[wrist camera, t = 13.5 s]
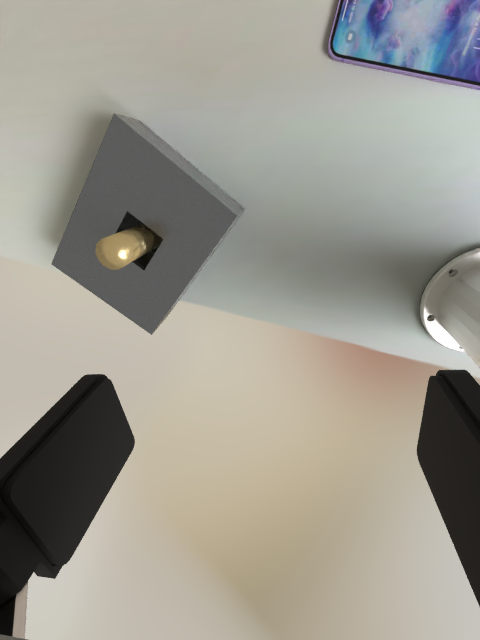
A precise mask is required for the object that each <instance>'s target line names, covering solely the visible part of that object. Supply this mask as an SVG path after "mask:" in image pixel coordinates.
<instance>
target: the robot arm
mask: <svg viewBox="0 0 480 640" xmlns="http://www.w3.org/2000/svg"><path fill="white" fill-rule="evenodd" d="M450 270H451V271H450ZM449 271H450V272H449ZM420 316H421V320H422V323H423V325H424V327H425V329H426V331H427V332H428V333H429V334H430V335H431V337H432V338H433V339H435V340H436V341H437V342H438V343H440V344H441V345H443V346H445V347H447V348H450V349H453V350H456V351H463V352H466V353H467V354H468V355H469V357H470V358H471V359H472V360H473V361H474V362H475V363H476V364H477V365H478V366H479V368H480V248H476V249H474V250H471V251H468V252H466V253H463V254H462V255H460V256H458V257H456V258H455V259H453V260H451V261H450V262H449V263H447V264H446V265H445V266H443V267H442V268H441V269H440V270H439V271H438V272H437V273H436V274H435V275H434V276H433V278H432V279H431V280H430V282H429V283H428V285H427V286H426V289H425V291H424V293H423V295H422V299H421V303H420ZM134 443H135V440H134V436H133V434H132V431H131V429H130V426H129V424H128V421H127V419H126V416H125V414H124V411H123V409H122V406H121V404H120V401H119V399H118V396H117V394H116V391H115V389H114V386H113V384H112V382H111V380H110V379H108V378H107V377H106V376H105V375H102V374H92V375H85V376H83V377H82V378H81V379H80V380H79V381H78V382H77V383H76V384H75V385H74V386H73V387H72V388H71V389H70V390H69V391H68V392H67V393H66V394H65V395H64V396H63V397H62V398H61V399H60V400H59V401H58V402H57V403H56V404H55V405H54V406H53V407H52V408H51V409H50V410H49V411H48V412H47V413H46V414H45V415H44V416H43V417H42V418H41V419H40V420H39V421H38V422H37V423H36V424H35V425H34V426H33V427H32V428H31V429H30V430H29V431H28V432H27V433H26V434H25V435H24V436H23V437H22V438H21V439H20V440H19V441H18V442H16V443H15V445H14V446H12V447H11V448H10V449H9V451H7V453H6V454H5V455H3V456H2V458H1V459H0V640H26V639H25V624H26V608H27V591H28V580H29V578H30V577H31V575H32V573H33V572H35V574H36V575H37V576H41V577H48V578H54V579H55V578H56V576H57V574H58V573H59V571H60V569H61V568H62V566H63V565H64V564H66V563H67V562H68V561H69V560H70V558H71V557H72V555H73V554H74V552H75V550H76V548H77V547H78V545H79V543H80V541H81V540H82V538H83V536H84V534H85V533H86V531H87V529H88V527H89V526H90V524H91V522H92V520H93V519H94V517H95V515H96V513H97V512H98V510H99V508H100V506H101V504H102V503H103V501H104V499H105V497H106V496H107V494H108V492H109V490H110V489H111V487H112V485H113V483H114V482H115V480H116V478H117V476H118V474H119V473H120V471H121V469H122V468H123V466H124V464H125V462H126V461H127V459H128V457H129V455H130V454H131V452H132V450H133V448H134ZM417 456H418V460H419V463H420V465H421V468H422V470H423V472H424V475H425V477H426V480H427V482H428V484H429V487H430V489H431V492H432V494H433V496H434V498H435V501H436V503H437V506H438V508H439V510H440V513H441V515H442V518H443V520H444V523H445V524H446V527H447V530H448V532H449V534H450V537H451V539H452V542H453V544H454V546H455V549H456V551H457V554H458V556H459V558H460V561H461V563H462V566H463V568H464V570H465V573H466V575H467V578H468V580H469V582H470V585H471V587H472V589H473V592H474V594H475V596H476V599H477V601H478V603H479V606H480V385H479V384H478V383H477V382H476V381H475V379H474V378H473V377H472V376H471V375H470V373H469V372H467V371H466V370H439V371H438V372H437V374H436V376H430V378H429V381H428V387H427V393H426V399H425V405H424V410H423V417H422V422H421V428H420V433H419V440H418V445H417Z"/></svg>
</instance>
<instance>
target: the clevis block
mask: <svg viewBox="0 0 480 640" xmlns="http://www.w3.org/2000/svg"><path fill="white" fill-rule="evenodd" d="M244 210H245V209H244V208H243V207H242V206H241V205H240V204H238V203H237V202H236V201H235V200H234V199H232V198H231V197H230V196H229V195H228V194H226V193H225V192H224V191H223V190H222V189H220V188H219V187H218V186H217V185H216V184H214V183H213V182H212V181H211V180H210V179H208V178H207V177H206V176H205V175H204V174H202V173H201V172H200V171H199V170H198V169H197V168H195V167H194V166H193V165H192V164H191V163H189V162H188V161H187V160H186V159H185V158H183V157H182V156H181V155H180V154H179V153H177V152H176V151H175V150H174V149H173V148H171V147H170V146H169V145H168V144H167V143H165V142H164V141H163V140H162V139H161V138H159V137H158V136H157V135H156V134H155V133H154V132H152V131H151V130H150V129H149V128H148V127H146V126H145V125H144V124H143V123H142V122H140V121H138V120H135V119H131V118H128V117H124V116H121V115H117V114H114V115H113V118H112V120H111V123H110V125H109V127H108V130H107V132H106V135H105V137H104V139H103V142H102V144H101V147H100V149H99V151H98V154H97V156H96V159H95V161H94V163H93V166H92V168H91V171H90V173H89V175H88V178H87V180H86V183H85V185H84V187H83V190H82V192H81V195H80V197H79V199H78V202H77V204H76V207H75V209H74V211H73V214H72V216H71V218H70V221H69V223H68V226H67V228H66V230H65V233H64V235H63V238H62V240H61V242H60V245H59V247H58V250H57V252H56V254H55V257H54V259H53V262H52V265H53V266H55V267H56V268H58V269H59V270H61V271H62V272H63V273H65V274H66V275H68V276H69V277H70V278H72V279H73V280H75V281H76V282H78V283H79V284H81V285H82V286H83V287H85V288H86V289H88V290H89V291H91V292H92V293H93V294H95V295H96V296H98V297H99V298H101V299H102V300H103V301H105V302H106V303H107V304H109V305H110V306H112V307H113V308H115V309H116V310H117V311H119V312H120V313H122V314H123V315H124V316H126V317H127V318H129V319H130V320H132V321H133V322H134V323H136V324H137V325H139V326H140V327H142V328H143V329H144V330H146V331H147V332H149V333H150V334H153V332H154V331H155V330H156V329H157V328H158V326H159V325H160V324H161V323H162V322H163V321H164V320H165V318H166V317H167V316H168V314H169V313H170V312H171V310H172V309H173V307H174V306H175V305H176V303H177V302H178V301H179V299H180V298H181V297H182V295H183V294H184V292H185V291H186V290H187V288H188V287H189V286H190V284H191V283H192V281H193V280H194V279H195V277H196V276H197V275H198V273H199V272H200V270H201V269H202V268H203V266H204V265H205V264H206V262H207V261H208V259H209V258H210V257H211V255H212V254H213V253H214V251H215V250H216V248H217V247H218V246H219V244H220V243H221V242H222V240H223V239H224V237H225V236H226V235H227V233H228V232H229V231H230V229H231V228H232V226H233V225H234V224H235V222H236V221H237V220H238V218H239V217H240V215H241V214H242V213H243V211H244ZM139 221H141V222H142V223H143V224H145V225H146V226H147V227H149V228H150V229H151V230H153V231H154V232H155V233H156V234H158V235H159V236H160V237H162V238H163V241H162V242H161V244H160V246H159V247H158V249H157V251H156V252H155V253H154V252H152V251H149V252H148V253H146V254H144V255H143V256H141V257H139V258H137V259H136V260H134V261H132V262H131V263H129V264H127V265H126V266H124V267H122V268H120V269H118V270H111V269H108V268H106V267H105V266H103V265H102V264H101V263H100V261H99V260H98V258H97V256H96V250H95V249H96V245H97V243H98V241H99V240H101V239H103V238H105V237H108V236H111V235H113V234H116V233H118V232H121V231H124V230H126V229H129V228H132V227H134V226H137V225H138V223H139Z"/></svg>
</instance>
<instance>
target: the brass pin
mask: <svg viewBox="0 0 480 640" xmlns="http://www.w3.org/2000/svg"><path fill="white" fill-rule="evenodd" d="M162 241H163V238H162V237H160V236H159V235H158V234H156V233H155V232H154V231H153V230H151V229H150V228H149V227H147V226H146V225H145V224H143V223H142V224H139V225H137V226H134V227H132V228H129V229H126V230H124V231H121V232H118V233H116V234H113V235H111V236H108V237H105V238H103V239H101V240H99V241H98V243H97V245H96V249H95V250H96V256H97V258H98V260H99V261H100V263H101V264H102V265H103V266H105V267H106V268H108V269H111V270H118V269H120V268H122V267H124V266H126V265H127V264H129V263H131V262H132V261H134V260H136V259H137V258H139V257H141V256H143V255H144V254H146V253H148V252H149V251H151V250H153V249H154V248H156V247H158V246H159V245H160V244H161V242H162Z"/></svg>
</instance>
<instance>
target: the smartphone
mask: <svg viewBox="0 0 480 640" xmlns="http://www.w3.org/2000/svg"><path fill="white" fill-rule="evenodd" d="M328 54H329V56H330V57H331V58H332V59H333V60H335V61H339V62H343V63H348V64H353V65H358V66H363V67H368V68H373V69H378V70H383V71H388V72H393V73H398V74H402V75H407V76H412V77H417V78H422V79H427V80H432V81H437V82H442V83H447V84H452V85H457V86H462V87H466V88H471V89H476V90H480V0H339V2H338V6H337V10H336V14H335V18H334V22H333V26H332V30H331V34H330V38H329V42H328Z"/></svg>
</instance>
